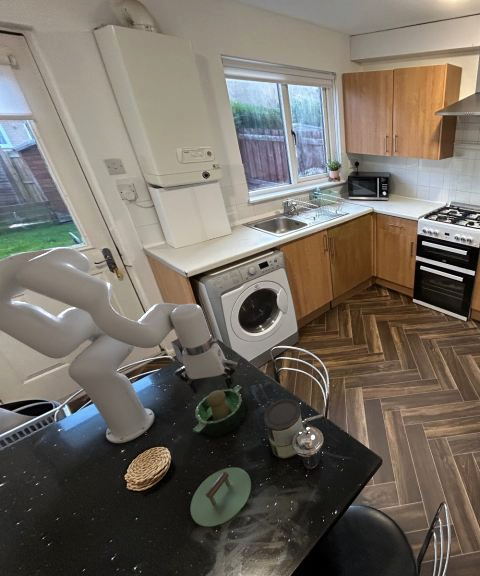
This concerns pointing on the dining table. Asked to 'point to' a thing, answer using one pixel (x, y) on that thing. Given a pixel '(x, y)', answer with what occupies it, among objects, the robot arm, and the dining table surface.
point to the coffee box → (178, 351)
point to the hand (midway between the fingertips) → (213, 387)
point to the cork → (218, 405)
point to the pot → (225, 423)
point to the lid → (220, 497)
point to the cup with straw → (308, 443)
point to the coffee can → (283, 426)
